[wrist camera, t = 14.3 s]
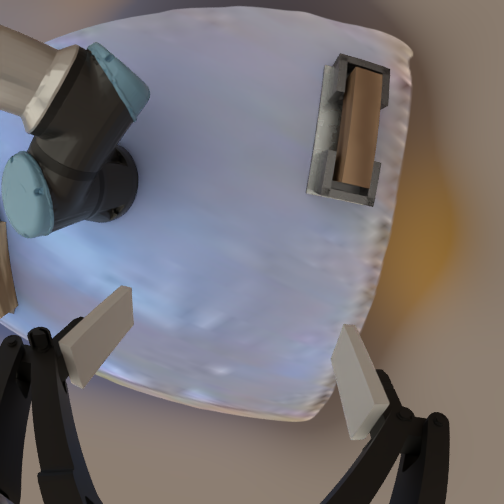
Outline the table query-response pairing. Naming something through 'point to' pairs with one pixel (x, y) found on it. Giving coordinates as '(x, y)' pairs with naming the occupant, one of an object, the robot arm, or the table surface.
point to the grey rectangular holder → (330, 129)
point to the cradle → (6, 276)
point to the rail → (358, 128)
